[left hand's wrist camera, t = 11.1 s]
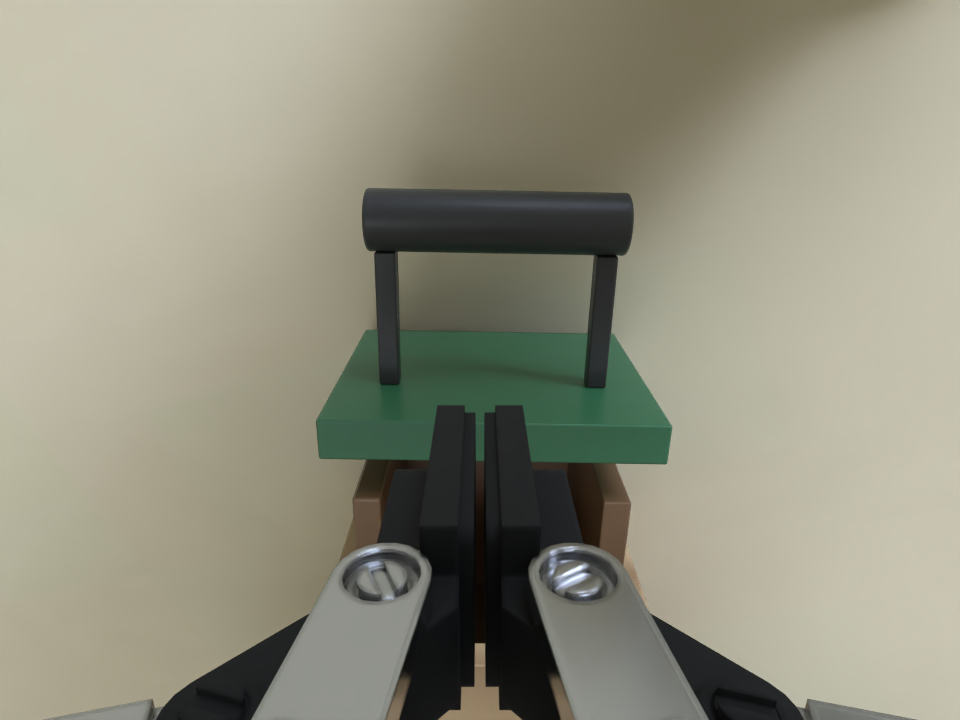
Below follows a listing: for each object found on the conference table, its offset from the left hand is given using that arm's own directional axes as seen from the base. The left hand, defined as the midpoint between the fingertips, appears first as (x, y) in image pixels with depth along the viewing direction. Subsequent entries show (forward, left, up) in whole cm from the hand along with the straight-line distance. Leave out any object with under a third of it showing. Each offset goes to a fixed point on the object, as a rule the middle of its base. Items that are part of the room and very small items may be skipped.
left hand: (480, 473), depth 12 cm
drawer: (+4, -2, -12) cm, 13 cm away
